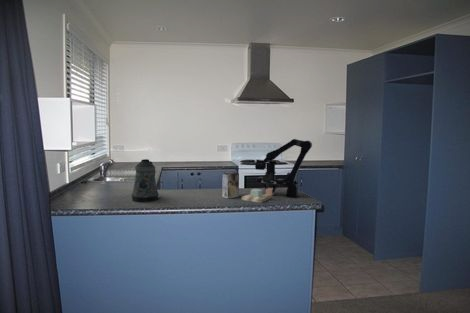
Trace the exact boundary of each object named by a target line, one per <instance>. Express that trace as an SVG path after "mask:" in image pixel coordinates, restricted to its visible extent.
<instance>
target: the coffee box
mask: <svg viewBox="0 0 470 313" xmlns="http://www.w3.org/2000/svg"><path fill="white" fill-rule="evenodd" d="M221 175H222V190H221V191H222V198H225V199H232V198H238V197H240V195H239V194H240V193H239V191H240V189H239V188H240V186H239V184H240V182H239V181H240V180H239V179H240V177H239V176H240V174H239V172H235V171H229V172H222V173H221Z"/></svg>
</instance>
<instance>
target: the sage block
mask: <svg viewBox="0 0 470 313" xmlns="http://www.w3.org/2000/svg"><path fill="white" fill-rule="evenodd" d="M250 193H251V196H252V197H260V196H262V194H263V189H259V188H253V189H250Z"/></svg>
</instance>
